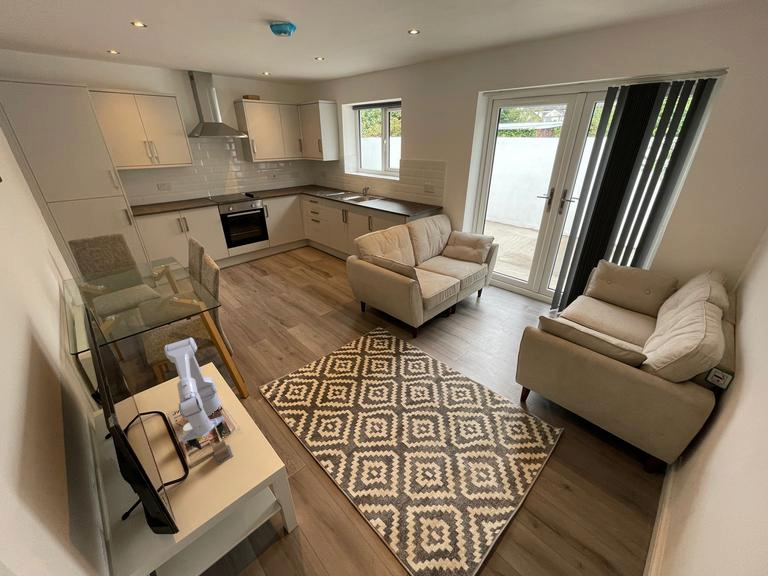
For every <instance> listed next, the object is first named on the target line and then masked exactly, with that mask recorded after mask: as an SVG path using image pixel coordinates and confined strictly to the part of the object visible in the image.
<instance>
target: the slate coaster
mask: <svg viewBox="0 0 768 576" xmlns="http://www.w3.org/2000/svg"><path fill="white" fill-rule="evenodd" d="M226 445H227V447H228V450H229V452H230V455H231V456H229V457H227V458H226V459H224V460H222V461H221V462H219V461H218V460H217V458H216V456H215V454H213V456H214V458H215V461H216V465H217V466H220V465H221V464H223V463H224V462H225V461H227V460H229V459H231V458H232V457H234V455H233V452H232V449H231V446H230V444H226Z"/></svg>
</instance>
